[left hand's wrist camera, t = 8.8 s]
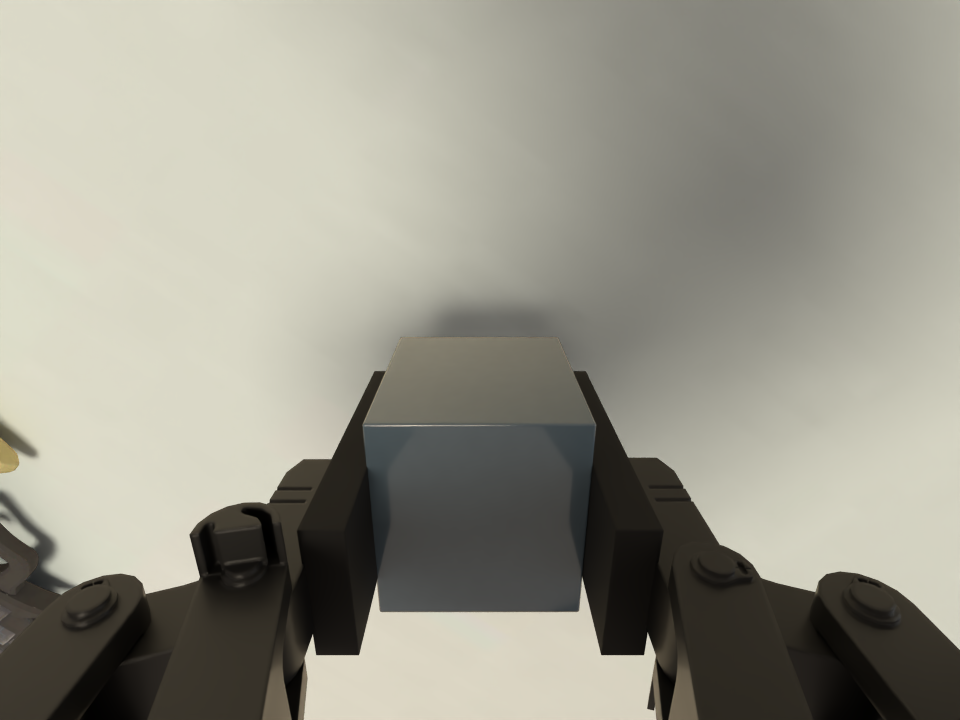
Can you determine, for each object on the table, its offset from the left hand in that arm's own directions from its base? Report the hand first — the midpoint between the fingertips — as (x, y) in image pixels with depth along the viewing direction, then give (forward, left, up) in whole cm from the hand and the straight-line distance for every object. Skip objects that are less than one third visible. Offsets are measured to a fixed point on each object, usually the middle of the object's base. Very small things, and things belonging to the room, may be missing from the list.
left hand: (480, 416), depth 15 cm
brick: (0, 0, 0) cm, 0 cm away
